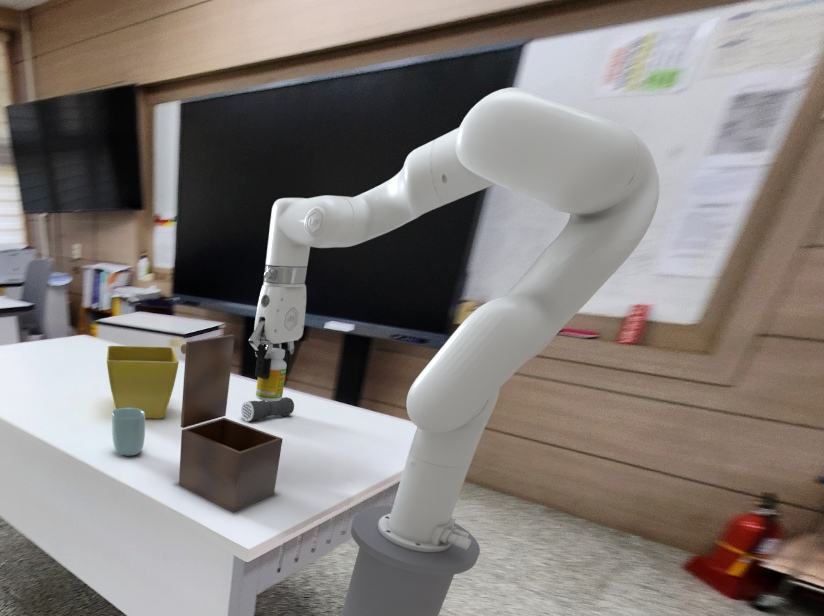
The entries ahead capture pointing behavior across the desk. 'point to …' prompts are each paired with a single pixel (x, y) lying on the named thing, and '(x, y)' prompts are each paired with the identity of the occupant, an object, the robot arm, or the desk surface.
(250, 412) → the flashlight
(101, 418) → the desk surface
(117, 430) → the cup
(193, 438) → the chest
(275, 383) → the supplement bottle
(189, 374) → the lid
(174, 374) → the flower pot
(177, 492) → the desk surface
